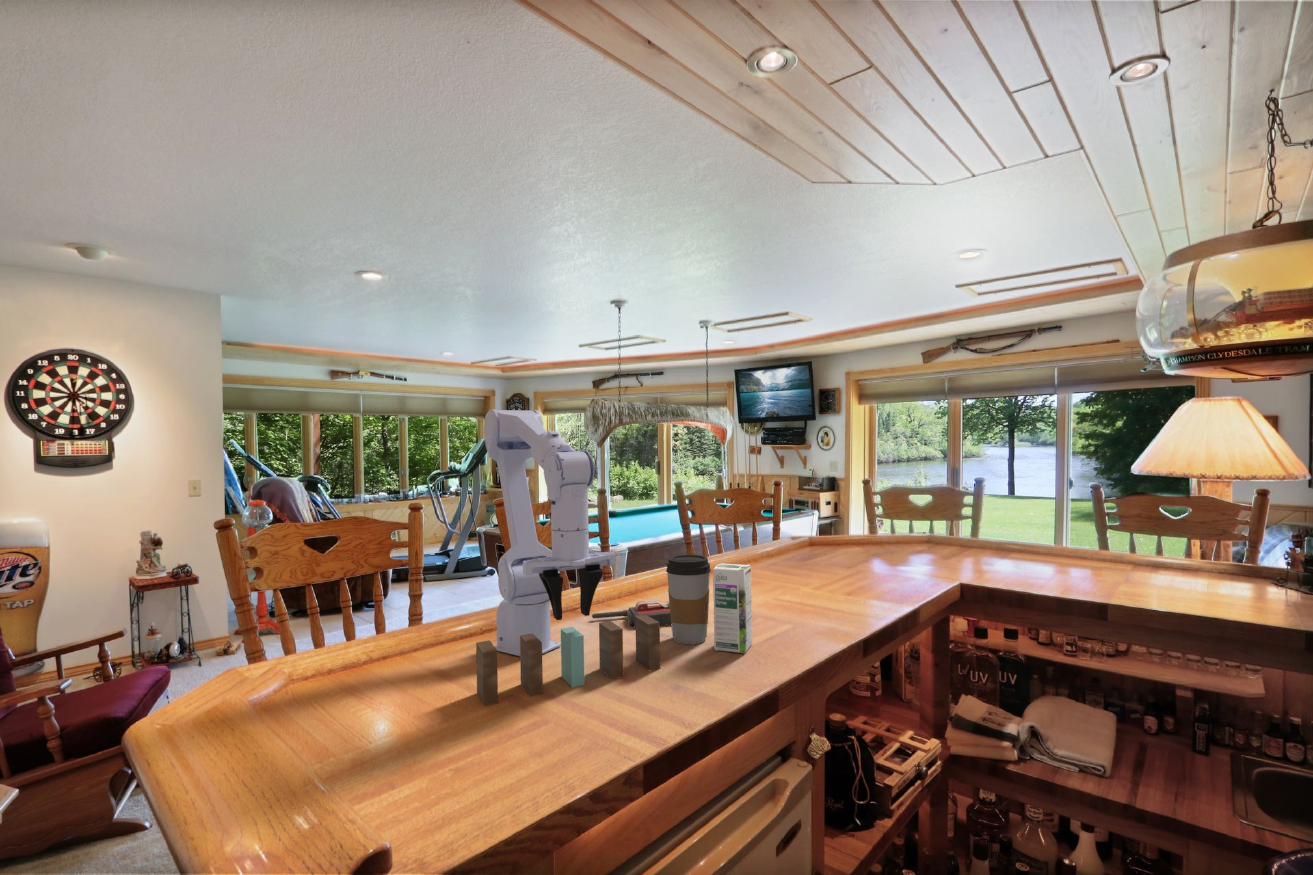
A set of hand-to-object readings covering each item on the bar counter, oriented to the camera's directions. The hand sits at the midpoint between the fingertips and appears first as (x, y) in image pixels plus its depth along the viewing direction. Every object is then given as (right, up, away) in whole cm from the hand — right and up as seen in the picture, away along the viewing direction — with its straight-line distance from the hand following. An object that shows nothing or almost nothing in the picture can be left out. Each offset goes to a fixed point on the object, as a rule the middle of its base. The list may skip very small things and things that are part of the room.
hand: (571, 616), depth 94 cm
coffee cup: (+19, -10, +18) cm, 29 cm away
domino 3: (0, -10, 0) cm, 10 cm away
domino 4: (+6, -10, +3) cm, 12 cm away
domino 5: (+12, -10, +6) cm, 16 cm away
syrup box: (+27, -10, +14) cm, 32 cm away
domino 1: (-11, -10, -6) cm, 16 cm away
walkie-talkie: (+10, -11, +30) cm, 34 cm away
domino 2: (-6, -10, -3) cm, 12 cm away
